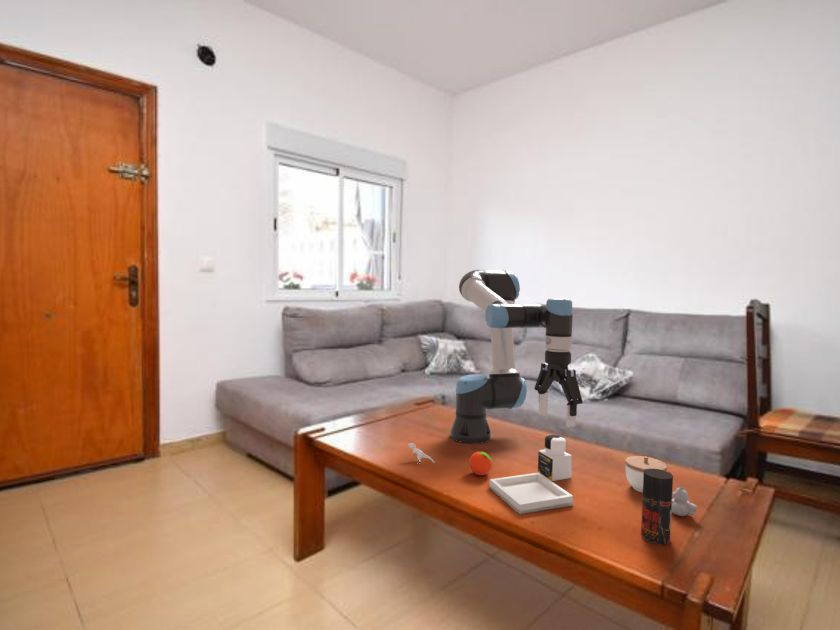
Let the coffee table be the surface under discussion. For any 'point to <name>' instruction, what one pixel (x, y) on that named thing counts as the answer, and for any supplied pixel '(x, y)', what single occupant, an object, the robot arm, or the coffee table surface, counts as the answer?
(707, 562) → the coffee table surface
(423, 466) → the coffee table surface
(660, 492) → the deodorant
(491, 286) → the robot arm
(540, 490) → the tray
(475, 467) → the clementine
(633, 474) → the lidded jar
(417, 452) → the dinosaur figurine
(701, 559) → the coffee table surface
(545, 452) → the medicine bottle
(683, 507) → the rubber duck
